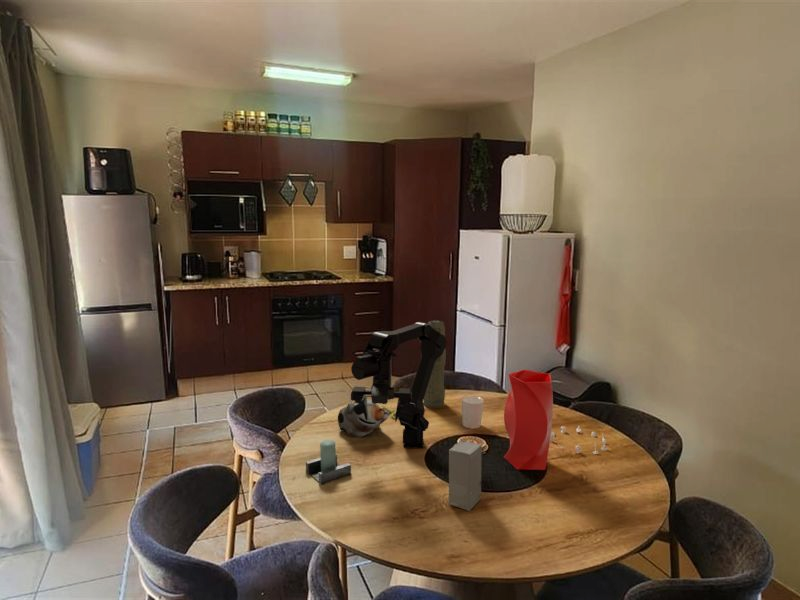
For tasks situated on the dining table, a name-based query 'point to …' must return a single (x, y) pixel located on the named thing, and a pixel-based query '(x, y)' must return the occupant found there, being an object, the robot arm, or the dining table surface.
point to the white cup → (472, 411)
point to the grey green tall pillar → (436, 375)
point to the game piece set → (578, 445)
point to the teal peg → (327, 455)
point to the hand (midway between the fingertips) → (381, 420)
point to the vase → (529, 419)
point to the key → (389, 411)
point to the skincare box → (465, 474)
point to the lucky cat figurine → (361, 419)
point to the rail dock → (327, 471)
